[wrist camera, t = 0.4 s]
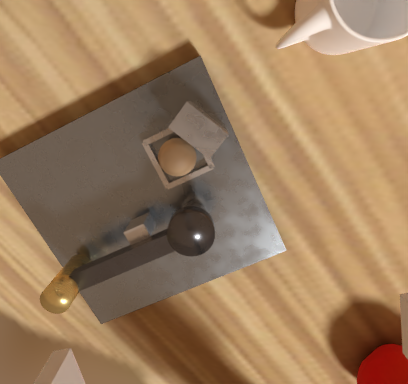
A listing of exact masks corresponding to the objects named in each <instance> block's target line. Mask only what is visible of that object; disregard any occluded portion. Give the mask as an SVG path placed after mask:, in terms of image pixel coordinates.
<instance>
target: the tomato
mask: <svg viewBox="0 0 408 384" xmlns="http://www.w3.org/2000/svg"><path fill="white" fill-rule="evenodd" d="M357 384H408V359H407V358H406V357H405V355H404V354H403V349H402V346H401V345H397V344H385V345H382V346H379V347H377V348H376V349H375V350H374V351H373V352H372V353H371V354H370V355H369V356H368V357H366V358H365V359H364V360H363V361H362V362H361V365H360V367H359V370H358V375H357Z"/></svg>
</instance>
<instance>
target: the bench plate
mask: <svg viewBox="0 0 408 384" xmlns="http://www.w3.org/2000/svg"><path fill="white" fill-rule="evenodd" d="M172 138H182V139H184V140H185V141H186V142H188V143H189V144H190V145H192V146H193V147H194V149H195V151H196V156H197V159H196V164H195V166H194V168H193V169H192V170H191V171H190V172H189V173H188V174H186V175H184V176H171V175H169V174H167V173H166V172H164V171H163V169H162V168H161V167H160V164H159V161H158V153H159V150H160V148H161V146H162V145H163V144H164V143H165V142H166V141H168V140H169V139H172ZM0 175H1V177H2V178H3V180H4V181H5V183H6V184H7V186H8V187H9V189H10V190H11V192H12V193H13V194H14V196H15V197H16V199H17V200H18V202H19V203H20V205H21V206H22V208H23V209H24V211H25V212H26V214H27V215H28V217H29V218H30V220H31V221H32V223H33V224H34V225H35V227H36V228H37V230H38V231H39V233H40V234H41V236H42V237H43V239H44V240H45V242H46V243H47V245H48V246H49V248H50V249H51V251H52V252H53V254H54V255H55V257H56V258H57V259H58V261H59V262H60V264H61V265H62V267H64V266H65V264H66V263H67V262H68V261H69V260H70V258H71V257H73V256H75V255H84V256H87V257H88V258H89V259H90V260H91V261H94V260H96V259H98V258H101V257H103V256H105V255H108V254H110V253H112V252H115V251H117V250H119V249H121V248H124V247H126V246H128V245H130V243H129V241H128V240H127V238H126V236H125V235H124V233H123V232H124V231H125V229H126V227H127V226H128V224H129V222H130V221H131V220H133V219H135V218H137V217H139V216H142V215H144V214H146V213H148V212H149V213H150V214H151V216H152V218H153V220H154V222H155V223H156V225H155V227H154V230H153V232H152V234H151V235H154V234H156V233H158V232H161V231H163V230H165V229H167V228H168V225H169V222H170V219H171V217H172V215H173V214H174V213H175V212H176V211H177V210H179V209H181V208H183V207H186V206H196V207H200V208H202V209H204V210H206V211H207V212H208V213H209V214H210V215H211V217H212V218H213V221H214V224H215V239H214V242H213V245H212V246H211V248H210V249H209V250H208V251H207V252H205V253H203V254H201V255H199V256H192V257H191V256H184V255H181V254H179V253H177V252H176V251H174V252H172V253H170V254H167V255H165V256H163V257H160V258H158V259H155V260H153V261H151V262H148V263H146V264H143V265H141V266H139V267H136V268H134V269H132V270H129V271H127V272H124V273H122V274H120V275H117V276H115V277H112V278H110V279H108V280H105V281H103V282H101V283H98V284H96V285H93V286H91V287H89V288H86V289H84V290H81V291H79V292H80V293H81V295H82V296H83V298H84V299H85V301H86V302H87V304H88V305H89V307H90V308H91V310H92V311H93V313H94V314H95V316H96V317H97V319H98V320H99V321H100V323H101V324H103V323H105V322H108V321H110V320H113V319H115V318H118V317H120V316H123V315H125V314H128V313H130V312H133V311H135V310H138V309H140V308H143V307H145V306H148V305H150V304H153V303H156V302H158V301H161V300H163V299H166V298H168V297H171V296H173V295H176V294H178V293H181V292H183V291H186V290H188V289H191V288H193V287H196V286H198V285H201V284H203V283H206V282H208V281H211V280H213V279H216V278H218V277H221V276H224V275H226V274H229V273H231V272H234V271H236V270H239V269H241V268H244V267H246V266H249V265H251V264H254V263H256V262H259V261H261V260H264V259H266V258H269V257H271V256H274V255H276V254H279V253H281V252H284V251H286V248H285V246H284V244H283V242H282V239H281V237H280V235H279V233H278V230H277V228H276V226H275V223H274V221H273V219H272V217H271V214H270V212H269V210H268V208H267V205H266V203H265V201H264V199H263V196H262V194H261V192H260V190H259V187H258V185H257V183H256V180H255V178H254V176H253V174H252V171H251V169H250V167H249V165H248V162H247V160H246V158H245V156H244V153H243V151H242V149H241V147H240V144H239V142H238V140H237V137H236V135H235V133H234V131H233V128H232V126H231V124H230V122H229V119H228V117H227V115H226V113H225V110H224V108H223V106H222V104H221V101H220V99H219V97H218V94H217V92H216V90H215V88H214V85H213V83H212V81H211V79H210V76H209V74H208V72H207V70H206V67H205V65H204V63H203V61H202V58H201V56H199V57H197V58H195V59H193V60H191V61H189V62H187V63H185V64H183V65H181V66H179V67H177V68H176V69H174V70H172V71H170V72H168V73H166V74H164V75H162V76H160V77H158V78H156V79H154V80H152V81H150V82H148V83H146V84H144V85H143V86H141V87H139V88H137V89H135V90H133V91H131V92H129V93H127V94H125V95H123V96H121V97H119V98H117V99H115V100H113V101H111V102H109V103H108V104H106V105H104V106H102V107H100V108H98V109H96V110H94V111H92V112H90V113H88V114H86V115H84V116H82V117H80V118H78V119H76V120H75V121H73V122H71V123H69V124H67V125H65V126H63V127H61V128H59V129H57V130H55V131H53V132H51V133H49V134H47V135H45V136H43V137H42V138H40V139H38V140H36V141H34V142H32V143H30V144H28V145H26V146H24V147H22V148H20V149H18V150H16V151H14V152H12V153H10V154H8V155H7V156H5V157H3V158H1V159H0Z"/></svg>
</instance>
